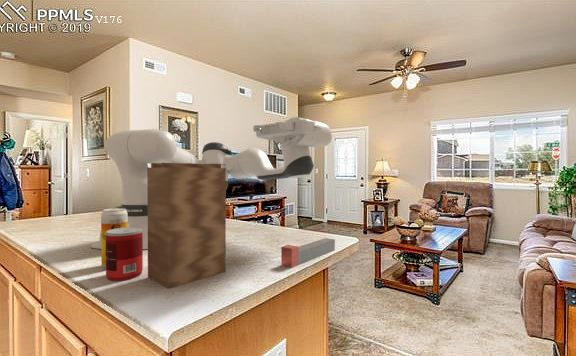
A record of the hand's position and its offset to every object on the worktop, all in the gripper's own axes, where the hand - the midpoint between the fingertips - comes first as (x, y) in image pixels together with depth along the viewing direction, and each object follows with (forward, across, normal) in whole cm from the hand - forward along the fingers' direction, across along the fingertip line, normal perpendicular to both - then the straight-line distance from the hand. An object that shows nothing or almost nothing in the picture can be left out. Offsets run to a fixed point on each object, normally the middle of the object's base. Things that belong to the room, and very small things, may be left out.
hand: (266, 126), depth 87 cm
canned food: (+32, +16, -38) cm, 52 cm away
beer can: (+31, +25, -38) cm, 55 cm away
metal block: (-11, -8, -38) cm, 40 cm away
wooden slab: (+22, +5, -38) cm, 44 cm away
